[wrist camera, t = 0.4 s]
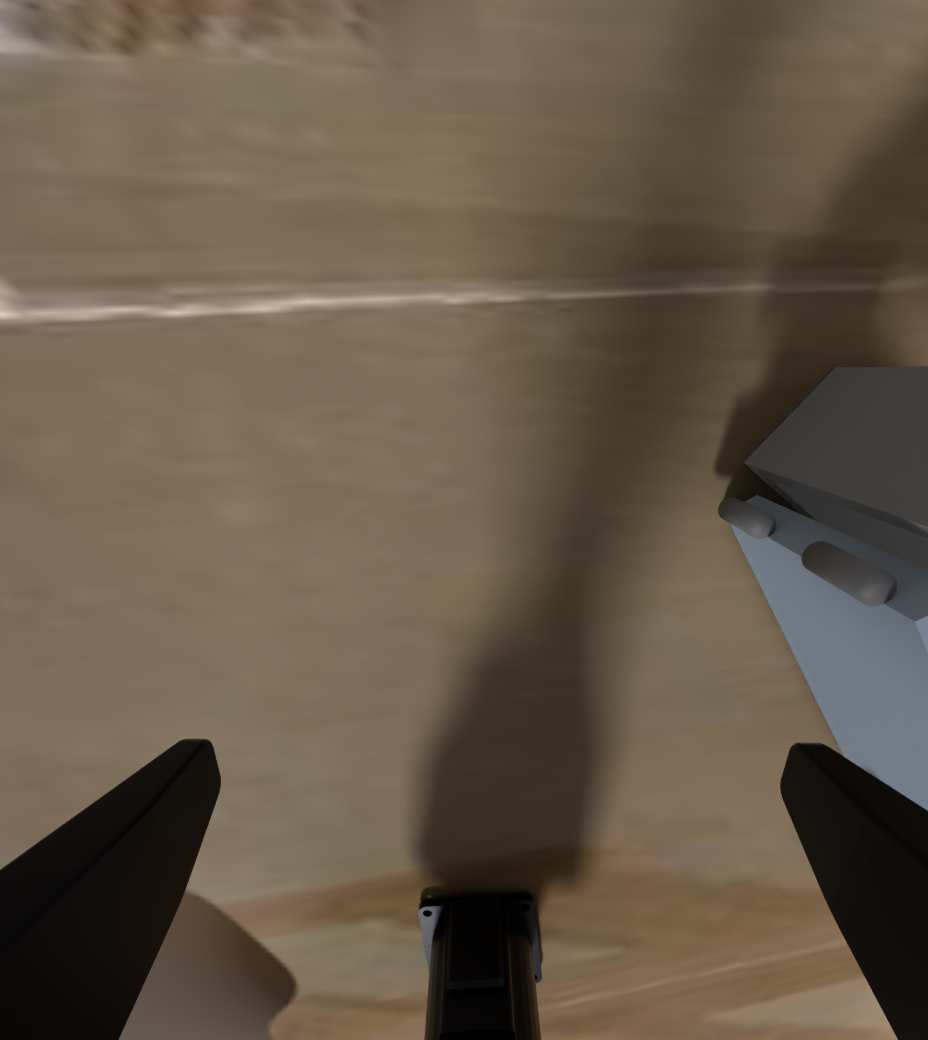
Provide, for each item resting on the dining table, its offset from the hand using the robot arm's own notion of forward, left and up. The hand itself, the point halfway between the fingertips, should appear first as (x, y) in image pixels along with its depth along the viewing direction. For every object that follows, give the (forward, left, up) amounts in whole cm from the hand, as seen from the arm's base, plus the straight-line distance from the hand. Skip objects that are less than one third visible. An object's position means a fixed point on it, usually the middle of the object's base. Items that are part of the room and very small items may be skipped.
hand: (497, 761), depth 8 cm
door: (-8, -14, -15) cm, 22 cm away
